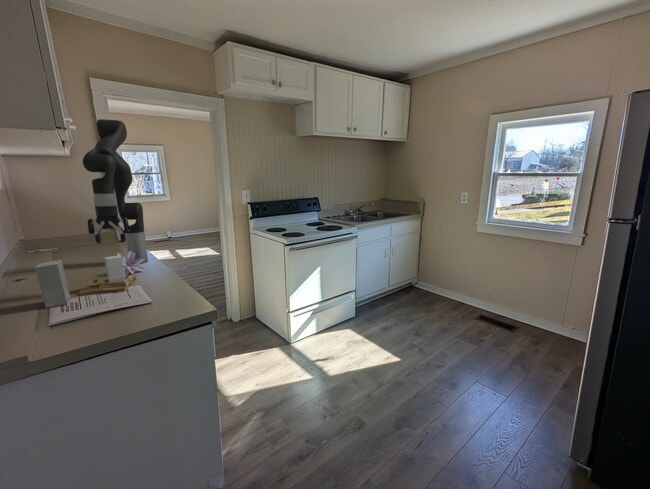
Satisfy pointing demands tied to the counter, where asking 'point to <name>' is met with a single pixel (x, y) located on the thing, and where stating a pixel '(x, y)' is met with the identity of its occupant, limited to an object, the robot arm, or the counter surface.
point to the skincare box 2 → (114, 268)
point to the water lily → (131, 263)
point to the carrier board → (109, 286)
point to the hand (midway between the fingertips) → (111, 242)
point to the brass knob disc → (94, 283)
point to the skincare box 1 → (53, 283)
